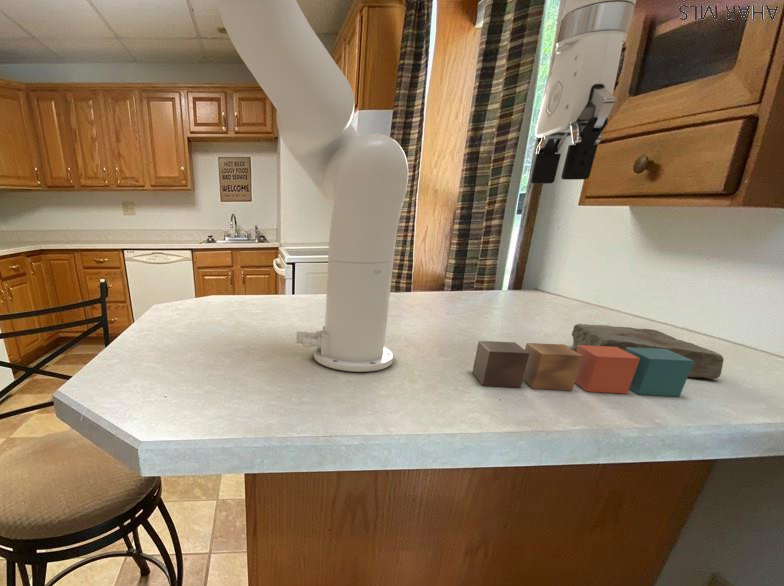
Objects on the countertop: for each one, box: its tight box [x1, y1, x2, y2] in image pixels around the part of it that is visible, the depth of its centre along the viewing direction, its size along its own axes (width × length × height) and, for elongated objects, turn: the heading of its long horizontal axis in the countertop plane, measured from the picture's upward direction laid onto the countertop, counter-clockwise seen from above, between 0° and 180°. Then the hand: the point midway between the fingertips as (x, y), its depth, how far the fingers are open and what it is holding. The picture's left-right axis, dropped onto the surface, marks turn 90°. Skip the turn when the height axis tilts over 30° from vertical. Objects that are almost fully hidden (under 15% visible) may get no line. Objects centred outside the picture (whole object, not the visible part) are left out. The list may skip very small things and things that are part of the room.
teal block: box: [626, 347, 694, 397], centre depth 57 cm, size 5×5×5 cm
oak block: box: [523, 342, 582, 391], centre depth 59 cm, size 5×5×5 cm
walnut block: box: [471, 340, 529, 389], centre depth 59 cm, size 5×5×5 cm
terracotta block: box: [574, 345, 640, 395], centre depth 58 cm, size 5×5×5 cm
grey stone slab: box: [571, 323, 724, 380], centre depth 68 cm, size 17×15×4 cm
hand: (556, 181), depth 60 cm, fingers open, 9 cm apart
